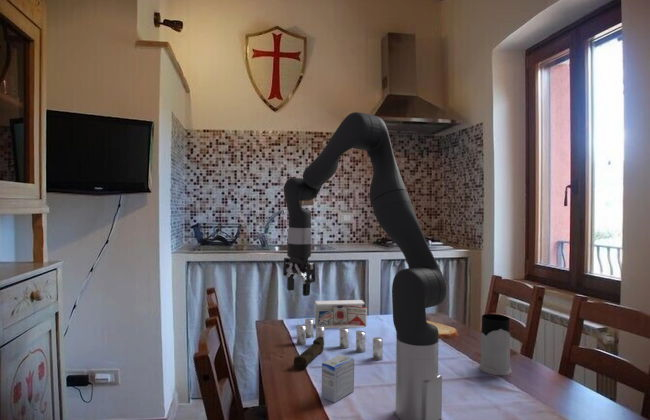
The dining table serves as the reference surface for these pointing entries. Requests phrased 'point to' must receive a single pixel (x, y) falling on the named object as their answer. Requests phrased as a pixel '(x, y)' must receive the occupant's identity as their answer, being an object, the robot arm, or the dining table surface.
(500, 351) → the glass holder
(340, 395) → the medicine box
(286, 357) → the dining table surface
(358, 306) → the white printed carton
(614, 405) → the dining table surface
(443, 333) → the bread slice
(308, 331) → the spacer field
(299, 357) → the dark brown rod
